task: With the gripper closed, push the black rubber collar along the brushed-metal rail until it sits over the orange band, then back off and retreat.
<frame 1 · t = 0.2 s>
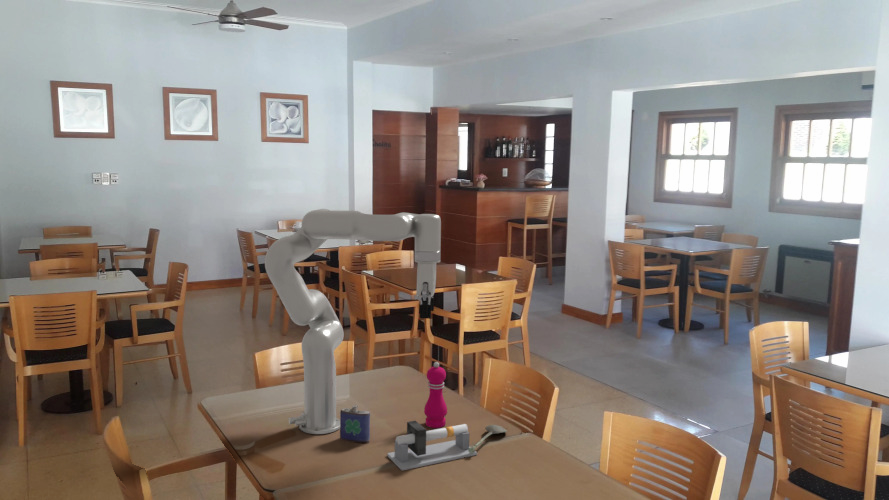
hand: (426, 314, 198), 37 cm above the table, tool pointing down, fingers open, 9 cm apart
rail: (432, 455, 188), on the table
flask: (354, 441, 197), on the table
soupspoon: (486, 442, 197), on the table, touching rail
collar: (416, 437, 185), point 6 cm above the table, slide at 0.0 cm
pepper mill: (435, 424, 211), on the table
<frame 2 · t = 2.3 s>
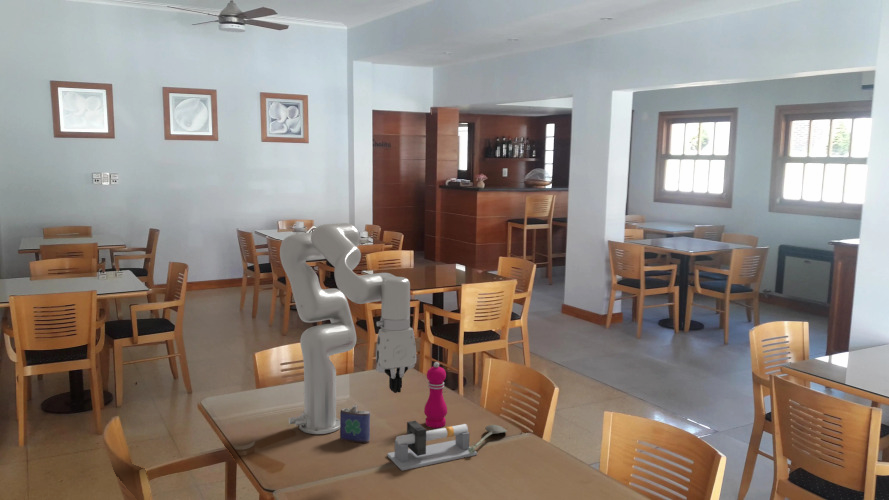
hand: (395, 391, 180), 20 cm above the table, tool pointing down, fingers closed
nothing on the table moved.
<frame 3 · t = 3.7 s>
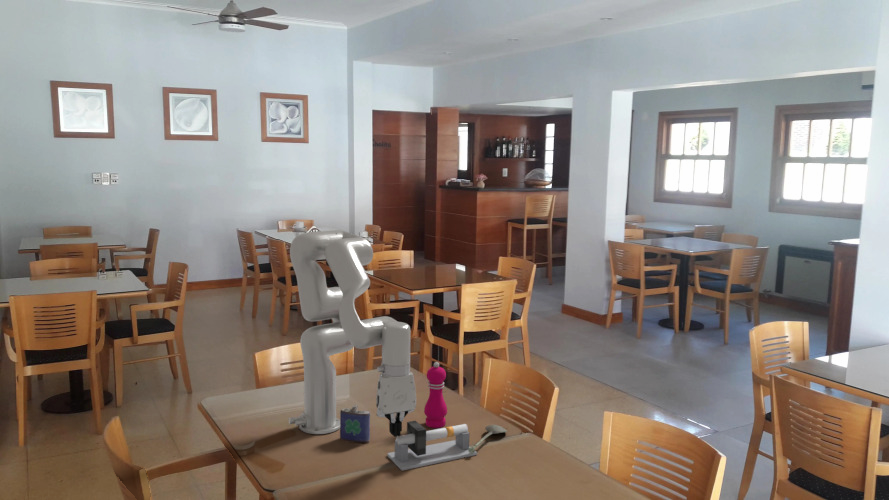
hand: (395, 434, 182), 8 cm above the table, tool pointing down, fingers closed
nothing on the table moved.
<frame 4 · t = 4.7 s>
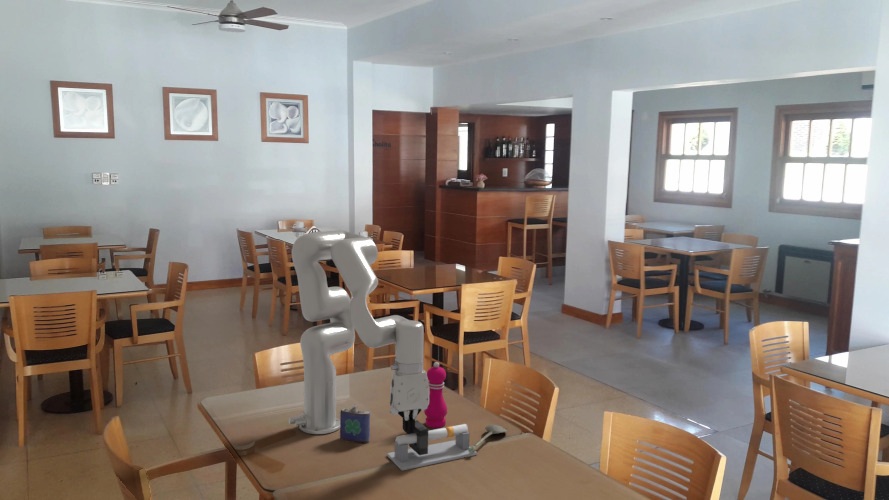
hand: (408, 432, 183), 8 cm above the table, tool pointing down, fingers closed
collar: (418, 437, 185), point 6 cm above the table, slide at 0.6 cm, touching gripper
everything else where it was.
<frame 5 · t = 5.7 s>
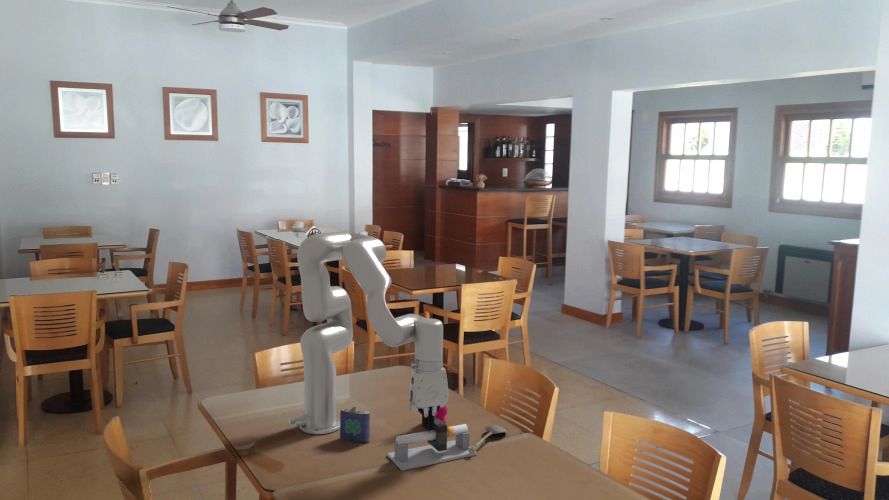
hand: (427, 428, 186), 8 cm above the table, tool pointing down, fingers closed
collar: (437, 433, 188), point 6 cm above the table, slide at 6.4 cm, touching gripper
everything else where it was.
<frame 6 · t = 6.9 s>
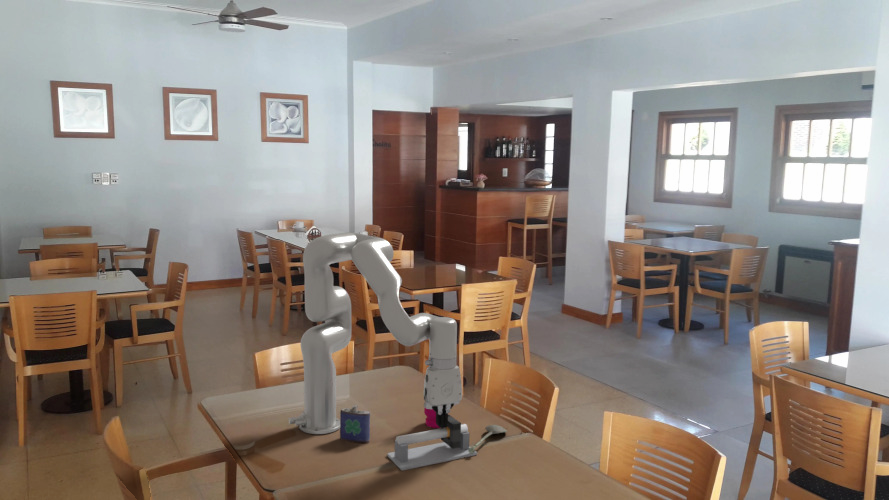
hand: (441, 426, 188), 8 cm above the table, tool pointing down, fingers closed
collar: (450, 431, 190), point 6 cm above the table, slide at 10.7 cm, touching gripper
everything else where it was.
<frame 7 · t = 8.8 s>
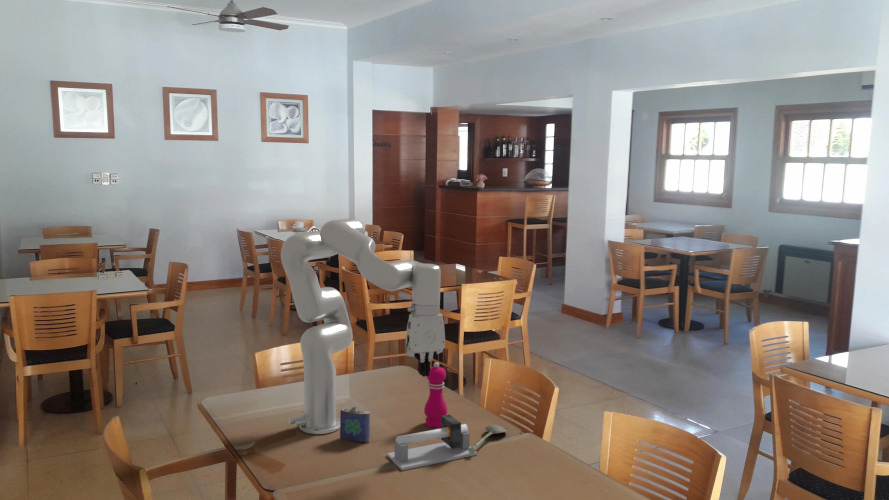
hand: (424, 374, 185), 23 cm above the table, tool pointing down, fingers closed
collar: (451, 431, 190), point 6 cm above the table, slide at 10.8 cm
everything else where it was.
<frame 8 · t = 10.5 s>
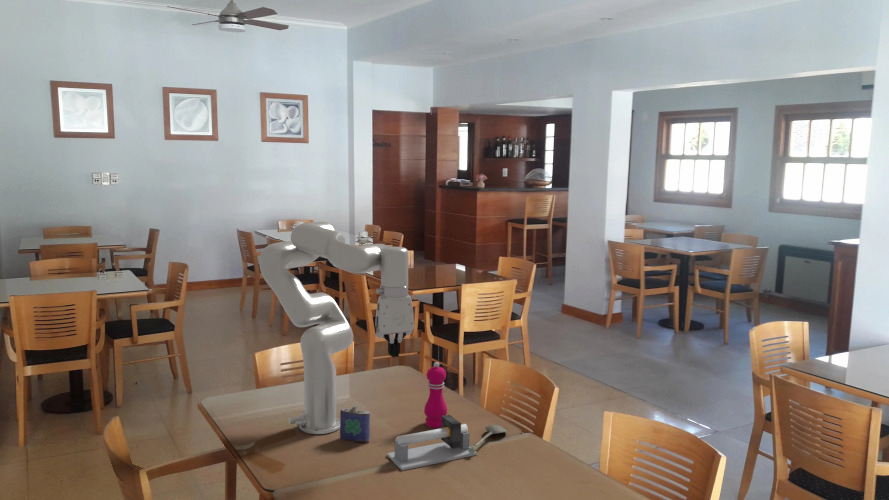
hand: (394, 355, 189), 27 cm above the table, tool pointing down, fingers closed
nothing on the table moved.
at the end: collar slide at 10.8 cm; the gripper is holding nothing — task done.
